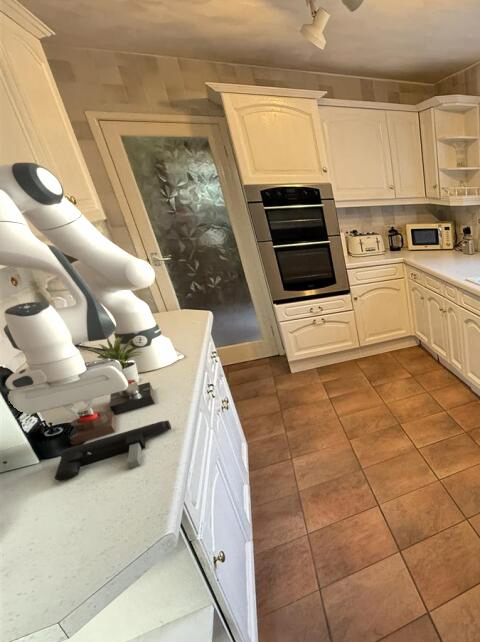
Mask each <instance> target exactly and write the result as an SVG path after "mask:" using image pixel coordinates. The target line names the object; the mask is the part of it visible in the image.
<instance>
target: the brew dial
mask: <svg viewBox="0 0 480 642" xmlns="http://www.w3.org/2000/svg"><path fill="white" fill-rule="evenodd" d="M127 381H128V387H127V389H126V390H124V391H120V392H119V394H120V396H121V397H128V396H132V395H135V394H137V393H139V392H140V389H139V387H138V385H139V384H138V382H137V383H136V381H135V380H127Z"/></svg>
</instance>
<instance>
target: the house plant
mask: <svg viewBox="0 0 480 642" xmlns="http://www.w3.org/2000/svg"><path fill="white" fill-rule="evenodd" d="M135 338H136V337H135ZM121 339H122V338H121ZM121 339H120V340H119V337H117V338H116V339H115V340H114V342H113V344H112V343H111V341H110V337H108V338H107V339H106V341H107V344H108V347H107V346H106V345H104V344H101V343H98V348H101V349H104V350H105V351H106V352H105V351H104V352H103V351H100V350H96V349H94V350H93V348H91V349H88V352H92V353H94V354H96V355H97V354H98V356H97V358H98V359H101V360H102V359H106V358H110V359H115V360H118V361H119V362H120V364H121V366H122V371H121V372H122V373H123V375H124V376H125V378H126V379H127V380H135V381H136V383H137V384H138V383H139V382H140V377H139V373H138V372H137V367H136V363H135V362H128V358H130V357H133V356H137V355H140V354H134V353H143V352H134V353H132V354H134V355H132V354H130V353H131V352H132V351H133V350H135V349H137V348H139V347H142V346H138V347H134V348H131V349H129V350H127V349H126V347H128V345H129V344H131V343H130V342H131V341H132V340H133V339H134V338H133V339H131V340H130V341H129V342H128V343H127V344H126V346H124V347H123V348H124V349H123V348H122V349H121V350H120V341H121ZM133 343H134V342H133ZM129 346H132V345H129ZM144 346H145V345H144ZM91 347H97V345H95V344H93V345H91ZM122 350H123V351H122ZM125 350H127V351H126V352H125V353H124V351H125ZM81 352H83V351H82V350H81V351H80V353H81ZM121 352H123V353H121ZM129 354H130V355H132V356H130V355H129ZM129 356H130V357H129ZM141 356H142V355H141ZM130 359H131V358H130ZM130 359H129V360H130ZM126 361H127V362H126ZM110 362H111V361H110Z"/></svg>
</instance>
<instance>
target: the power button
mask: <svg viewBox="0 0 480 642" xmlns="http://www.w3.org/2000/svg"><path fill="white" fill-rule="evenodd" d="M96 412H97V411H95V412H94V411H93V415H90V416H87V417H83V418H80V419H78V421H79V422H80V423H83V422H87V421H91V420H93V419H96V418H97V417H99V416H98V414H97V413H96Z"/></svg>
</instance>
